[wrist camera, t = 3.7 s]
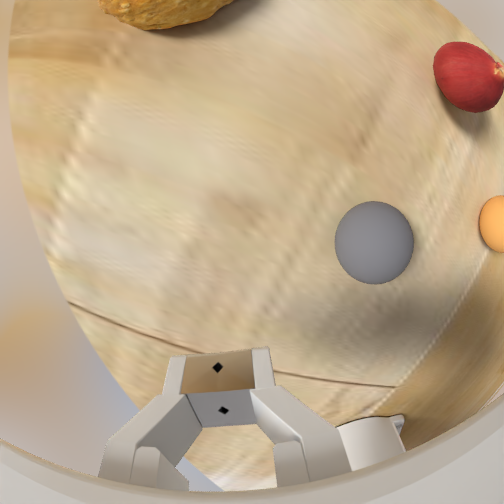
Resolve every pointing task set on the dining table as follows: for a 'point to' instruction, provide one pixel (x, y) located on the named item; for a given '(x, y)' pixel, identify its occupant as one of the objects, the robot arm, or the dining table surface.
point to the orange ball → (493, 223)
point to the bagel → (161, 11)
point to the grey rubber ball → (374, 242)
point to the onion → (468, 76)
